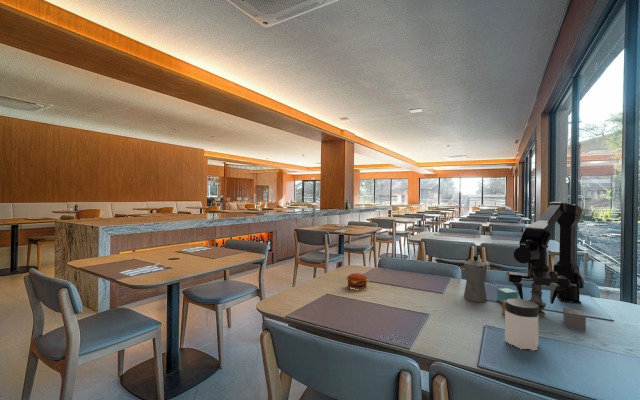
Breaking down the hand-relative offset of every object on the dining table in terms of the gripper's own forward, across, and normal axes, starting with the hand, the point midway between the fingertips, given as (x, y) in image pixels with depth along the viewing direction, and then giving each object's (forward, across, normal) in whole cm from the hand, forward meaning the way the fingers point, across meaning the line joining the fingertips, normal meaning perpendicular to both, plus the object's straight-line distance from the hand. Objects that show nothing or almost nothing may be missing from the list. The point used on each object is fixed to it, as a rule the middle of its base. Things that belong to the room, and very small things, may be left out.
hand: (536, 302), depth 112 cm
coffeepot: (+4, -20, +9) cm, 22 cm away
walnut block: (+4, -9, -8) cm, 13 cm away
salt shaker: (+4, 0, 0) cm, 4 cm away
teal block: (+4, -8, +8) cm, 12 cm away
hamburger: (+4, -70, +5) cm, 70 cm away
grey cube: (+4, +8, -10) cm, 13 cm away
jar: (+4, -11, -30) cm, 32 cm away
